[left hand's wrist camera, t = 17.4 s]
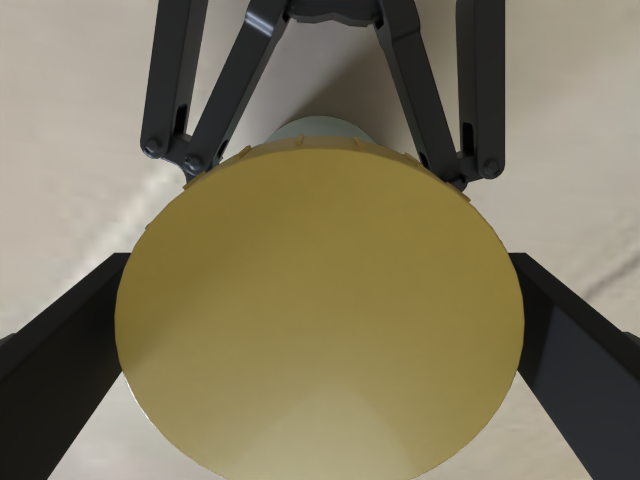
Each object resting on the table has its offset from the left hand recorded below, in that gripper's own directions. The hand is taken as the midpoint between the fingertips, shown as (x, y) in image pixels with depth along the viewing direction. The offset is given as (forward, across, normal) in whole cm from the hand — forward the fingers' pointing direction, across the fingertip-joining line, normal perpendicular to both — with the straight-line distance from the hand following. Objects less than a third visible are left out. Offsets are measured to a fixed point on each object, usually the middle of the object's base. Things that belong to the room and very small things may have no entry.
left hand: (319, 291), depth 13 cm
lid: (-3, 0, 0) cm, 3 cm away
